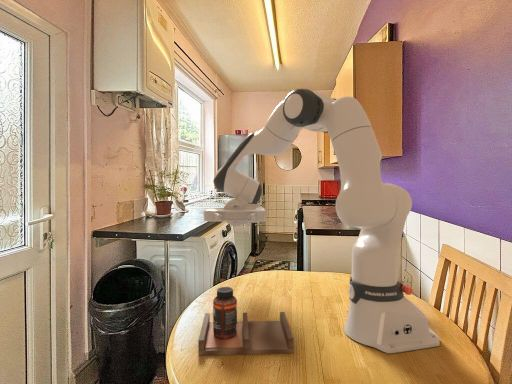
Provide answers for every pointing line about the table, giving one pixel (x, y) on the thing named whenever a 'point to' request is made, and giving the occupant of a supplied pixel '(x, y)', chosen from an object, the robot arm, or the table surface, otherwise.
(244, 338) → the slot rack
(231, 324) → the supplement bottle
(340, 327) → the table surface
